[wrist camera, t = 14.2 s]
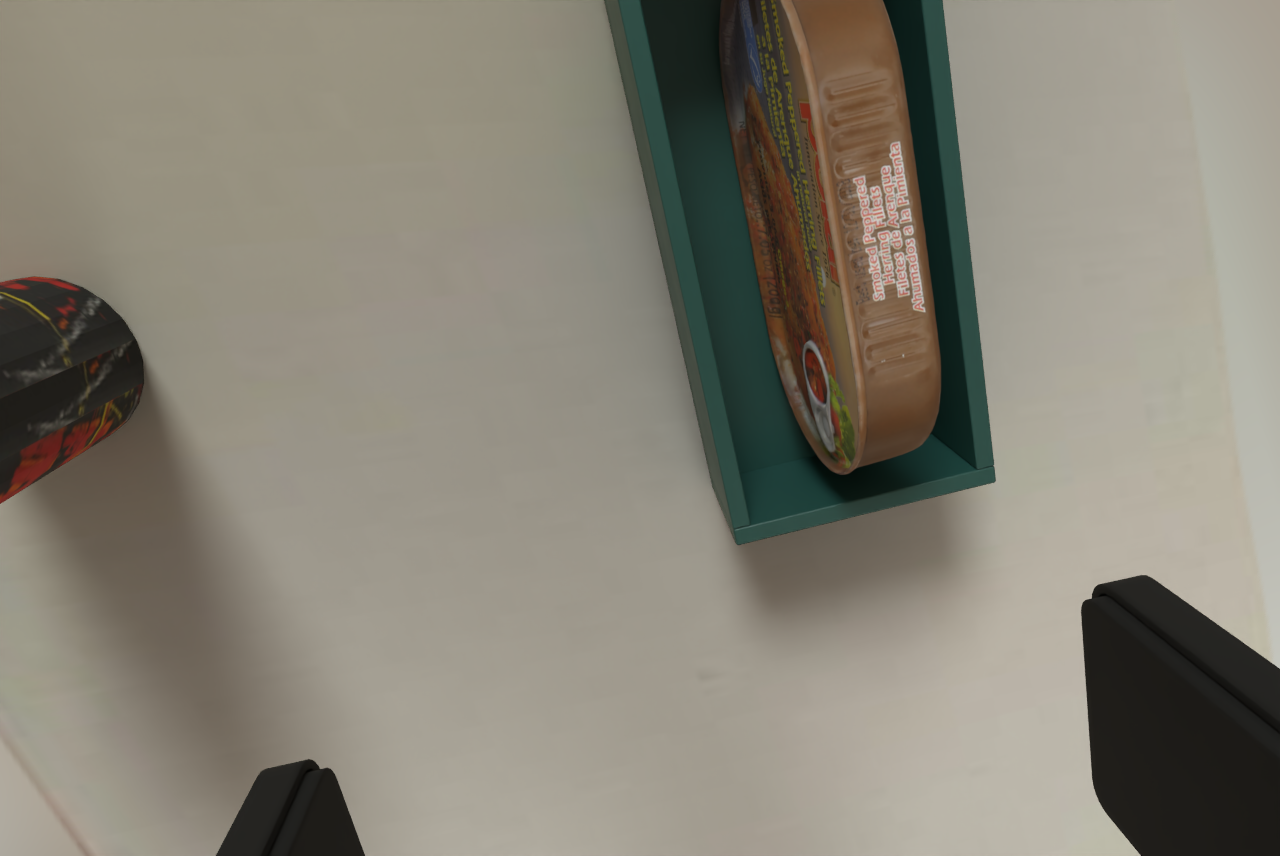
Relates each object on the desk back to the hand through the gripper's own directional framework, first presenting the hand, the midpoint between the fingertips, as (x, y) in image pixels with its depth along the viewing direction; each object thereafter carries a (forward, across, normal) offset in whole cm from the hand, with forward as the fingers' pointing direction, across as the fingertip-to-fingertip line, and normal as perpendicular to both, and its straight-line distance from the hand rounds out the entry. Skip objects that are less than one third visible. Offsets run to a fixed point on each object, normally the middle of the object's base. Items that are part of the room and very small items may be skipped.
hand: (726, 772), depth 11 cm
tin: (+22, -7, -4) cm, 23 cm away
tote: (+22, -6, -4) cm, 23 cm away
